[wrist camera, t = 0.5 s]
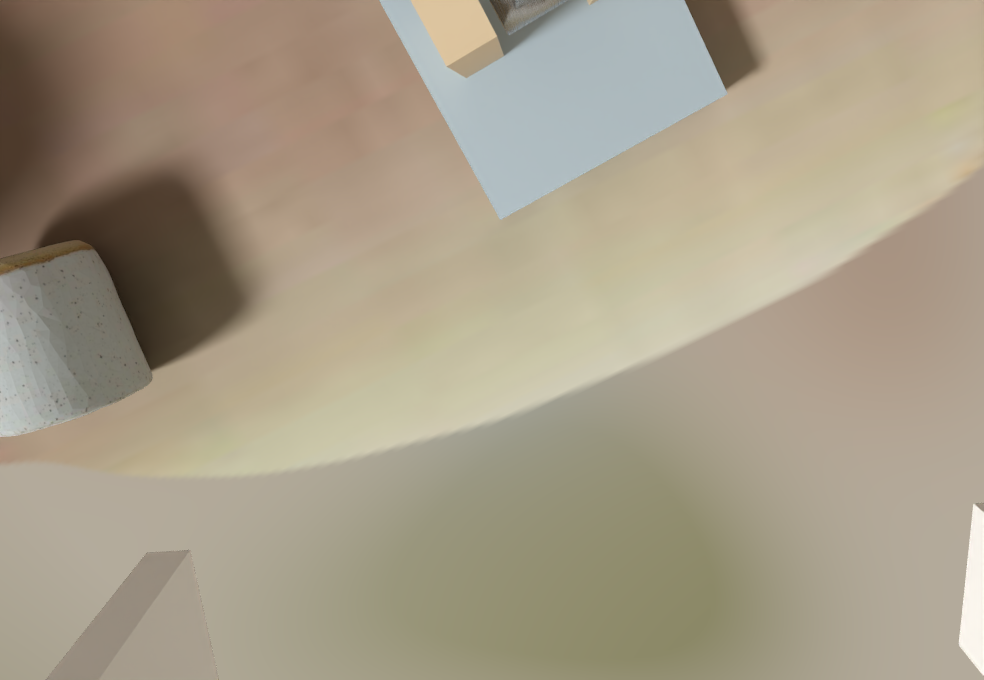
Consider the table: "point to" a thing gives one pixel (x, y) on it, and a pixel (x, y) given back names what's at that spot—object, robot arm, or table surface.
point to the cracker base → (555, 84)
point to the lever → (521, 11)
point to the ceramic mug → (62, 339)
